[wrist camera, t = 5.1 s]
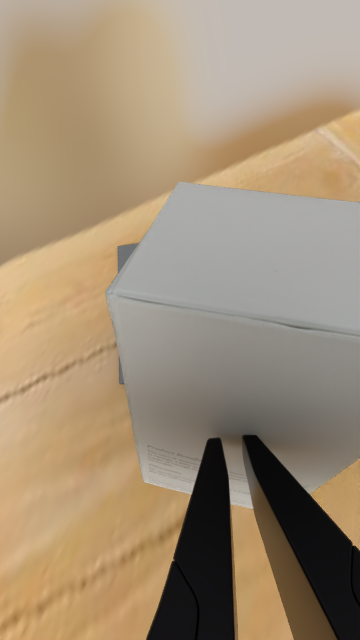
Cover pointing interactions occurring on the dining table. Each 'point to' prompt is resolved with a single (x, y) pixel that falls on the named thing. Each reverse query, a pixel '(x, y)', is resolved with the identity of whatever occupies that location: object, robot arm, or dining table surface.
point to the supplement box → (242, 334)
